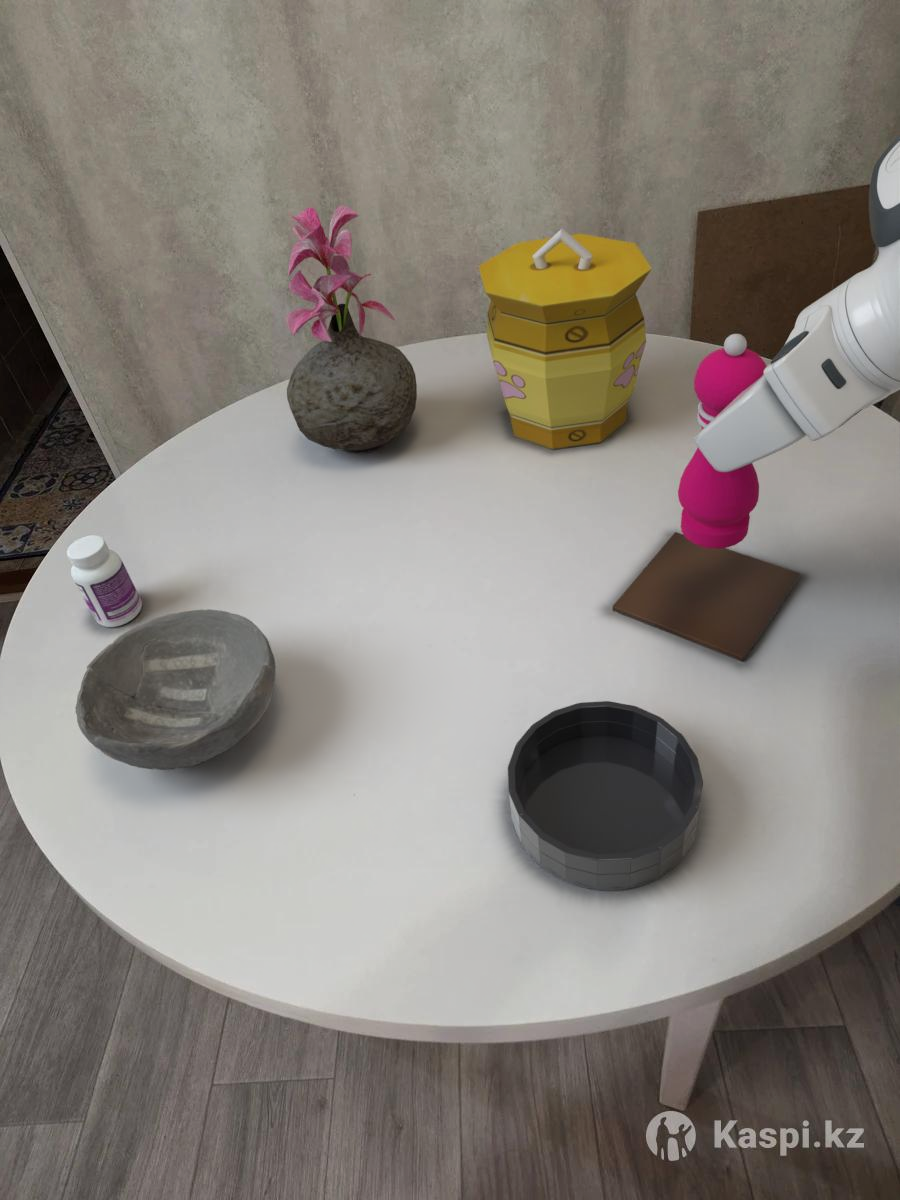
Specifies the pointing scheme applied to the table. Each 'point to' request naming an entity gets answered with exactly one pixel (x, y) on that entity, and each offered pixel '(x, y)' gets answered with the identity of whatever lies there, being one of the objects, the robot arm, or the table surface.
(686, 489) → the pepper mill
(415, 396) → the vase
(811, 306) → the robot arm
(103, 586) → the pill bottle
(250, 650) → the bowl
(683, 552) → the trivet
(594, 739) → the pan
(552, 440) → the container
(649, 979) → the table surface
